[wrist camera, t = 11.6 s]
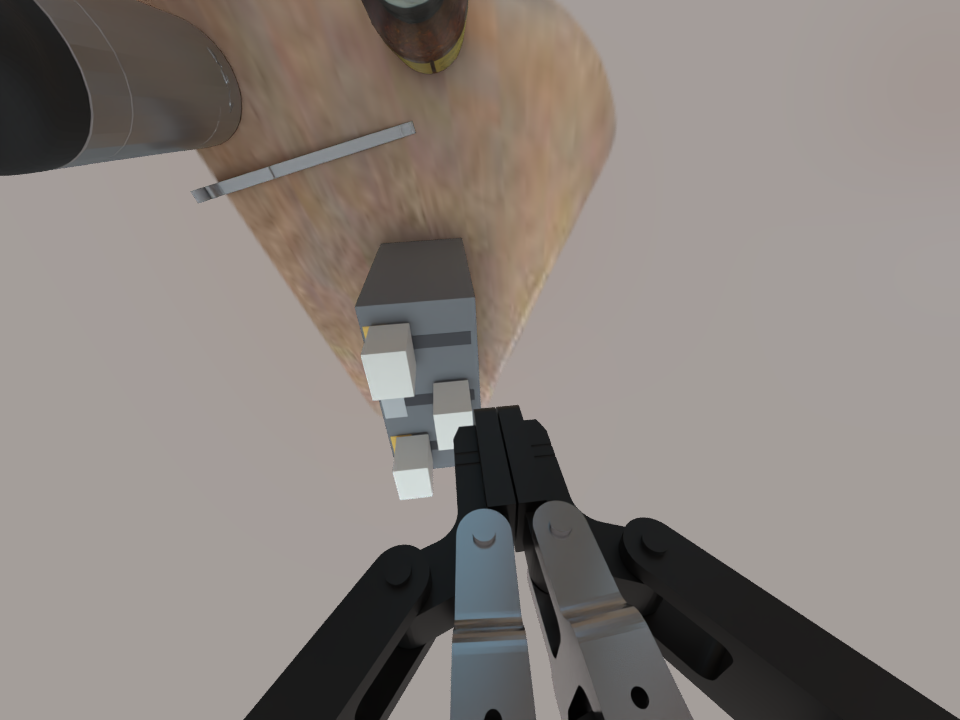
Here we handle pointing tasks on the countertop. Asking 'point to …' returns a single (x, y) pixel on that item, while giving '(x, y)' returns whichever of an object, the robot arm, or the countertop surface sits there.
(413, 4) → the sauce bottle
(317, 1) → the countertop surface
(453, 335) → the switch box
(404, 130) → the caliper
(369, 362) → the tab front
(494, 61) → the countertop surface
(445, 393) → the tab middle
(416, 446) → the tab back
